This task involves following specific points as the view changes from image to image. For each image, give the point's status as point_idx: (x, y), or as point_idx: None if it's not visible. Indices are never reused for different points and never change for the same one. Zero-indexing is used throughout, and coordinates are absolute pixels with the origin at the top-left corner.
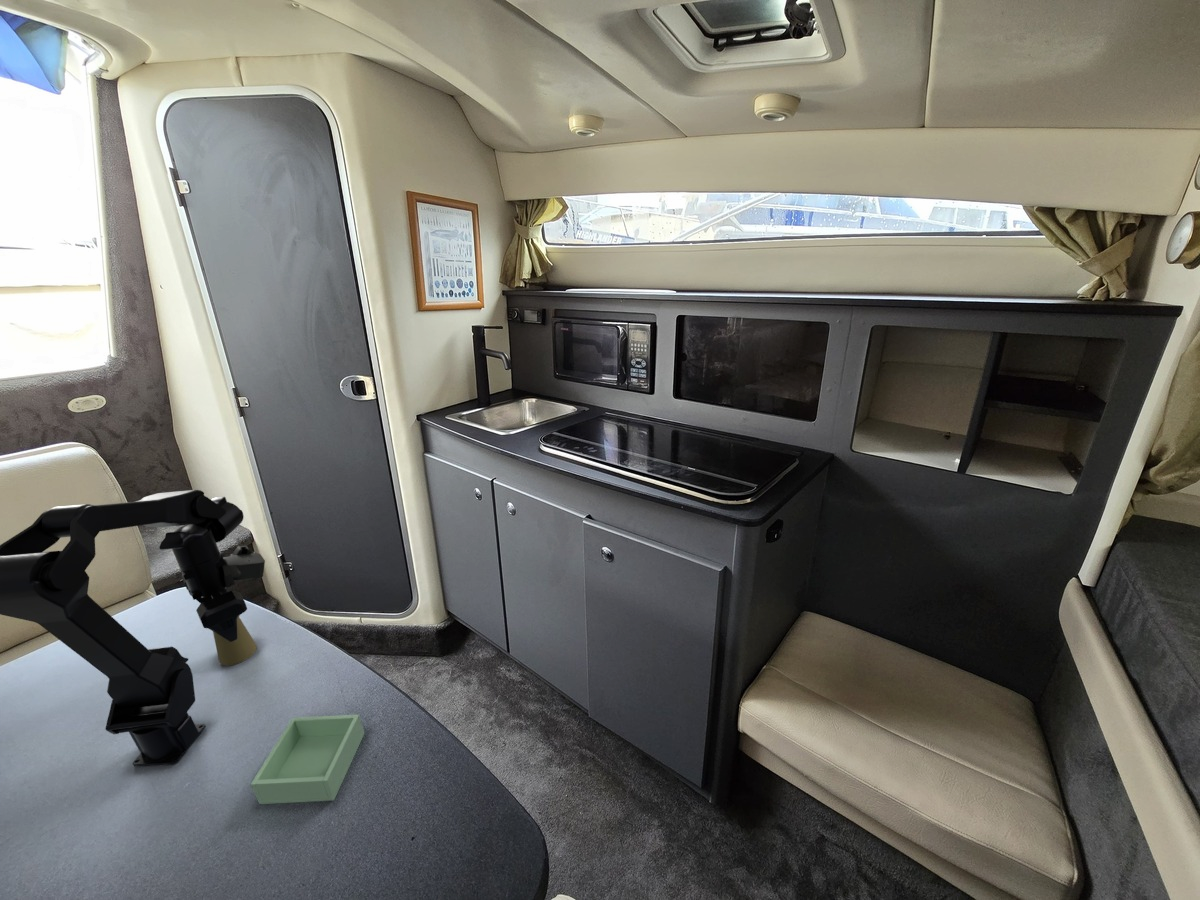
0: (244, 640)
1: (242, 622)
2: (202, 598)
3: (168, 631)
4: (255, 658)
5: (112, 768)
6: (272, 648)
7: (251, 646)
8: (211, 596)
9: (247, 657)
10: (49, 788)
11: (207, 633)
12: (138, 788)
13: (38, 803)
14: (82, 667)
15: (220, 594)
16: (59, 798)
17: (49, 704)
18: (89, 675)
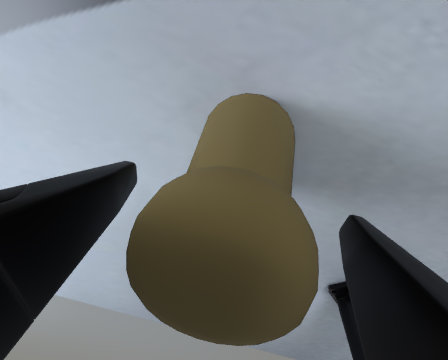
0: (290, 149)
1: (251, 145)
2: (20, 314)
3: (34, 180)
4: (317, 126)
5: (322, 323)
6: (330, 71)
7: (287, 123)
8: (14, 274)
9: (294, 139)
10: (278, 340)
11: (94, 144)
12: None
13: (290, 348)
14: None
15: (9, 229)
16: (306, 344)
17: (123, 297)
18: (91, 267)
